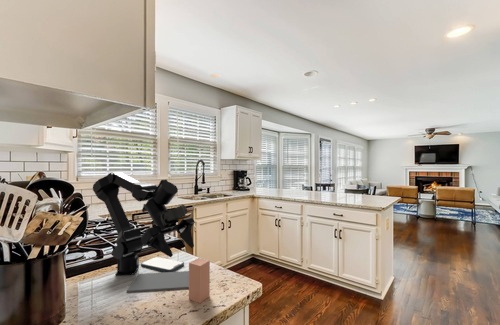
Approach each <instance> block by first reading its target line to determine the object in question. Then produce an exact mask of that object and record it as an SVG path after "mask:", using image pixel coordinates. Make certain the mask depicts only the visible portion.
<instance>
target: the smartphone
mask: <svg viewBox="0 0 500 325" xmlns="http://www.w3.org/2000/svg"><path fill="white" fill-rule="evenodd" d="M184 266H185V262H184V261H180V260H175V259H169V258H164V257H160V256H155V257H152V258H150V259H148V260H145V261H143V262H141V263H140V267H141V268H145V267H146V269H149V268H150V270H154V271H158V272H160V273H162V272H177V271H178V270H179V269H181V268H183V267H184Z"/></svg>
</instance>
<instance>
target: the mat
mask: <svg viewBox="0 0 500 325" xmlns="http://www.w3.org/2000/svg"><path fill="white" fill-rule="evenodd" d="M187 289H188V290H189V270H186V271H185V270H184V271H183V270H182V271H174V272H150V273H149V272H148V273H146V272H145V273H138V274H136V276H135V278H134V279H133V281H132V282H131V283H130V285H129V286H128V287H127V289H126V293H139V292H140V293H141V292H142V293H143V292H154V291H155V292H158V291H169V290H170V291H171V290H187Z"/></svg>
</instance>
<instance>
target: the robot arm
mask: <svg viewBox="0 0 500 325" xmlns="http://www.w3.org/2000/svg"><path fill="white" fill-rule="evenodd" d="M120 188H122V189H123V190H126V191H128V192H130V194H131V197H132V198H134V199H135V201H137V202H145V201H146V203H143V207H142V209H141V211H142V213H145V212H147V213H148V215H149V216H150V218H151V219H152V221H151V222H150V224H151V225H152V227H149V228H147V229H146V231H145V232H144V233H143V234H141V233H142V232H141V231H140V229H139V228H138V227H136V228H134V227H132V225H131V223H130V221H129V219H128V217H127V214H126V213H125V210H124V208H123V205H122V204H121V201H120V198H119V197H118V196H119V192H120ZM178 190H179V189H178V186H177V185H175V183H172V182H170V181H168V179H161V180H160V182H159V183H158V185H156V184H155V183H152V182H142V181H139V180H137V179H135V178H133V177H131V176H129V175H127V174H126V173H124V172H122V171H113V172H110V173H108V174H107V175H105V176H104V177H101V178H99V179H98V180H97V181H95V182H94V184H93V186H92V191H93V193H94V194H95V196H96V198H97V199H99V200H101V201H102V202H104V204H105V206H106V209H107V212H108V213H109V216H110V218H111V221H112V223H113V226H114V227H115V230H116V232H117V237H116V242H115V244H116V246H115V248H114V249H113V250H112V257H113V258H114V259H116V261H117V262H116V268H117V271H116V272H115V276H127V275H128V276H129V275H135V274H136V272H137V271H138V269H139V268H140V257H139V256H138V254H140V253H142V251H143V247H146V246H147V247H148V248H150V247H151V248H153V249H155V250H157V251H159V252H160V253H163V254H164V255H166V256H168V257H169V258H172V257H173V256H174V254H173V252H172V249H171V248H170V246H169V244H168V242H167V241H166V238H165V235H168V234H170V233H174V232H177V234H179V236H178V237H180V239H182V241H184V243H186V245H187V246H188V247H190V248H191V249H193V248H194V247H195V244H194V240H193V235H192V228H193V227H194V224H195V223H196V221H195V220H194V218H193V217H187V218H186V216H187V214H188V209H187V207H186V206H185V205H184V204H181V205H179V206H177V207H175V208H172V209H168V208H167V207H166V205H168V204H170V203H171V201H172V200H173V198H175V197H176V195H177V193H178V192H179V191H178ZM184 217H185V218H184ZM181 218H183V219H181ZM180 219H181V220H180ZM179 221H180V222H179ZM153 225H155V226H153Z"/></svg>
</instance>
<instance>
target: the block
mask: <svg viewBox="0 0 500 325" xmlns="http://www.w3.org/2000/svg"><path fill="white" fill-rule="evenodd" d="M210 265H211V262H210V260H208V259H204V258H200V257H199V258H196V259H194V260H191V261H190V262H189V263H188V271H189V289H188V300H190V301H193V302H196V303H198V304H201V303H202V302H204V301H205V300H207V299H208V298H209V297H210V291H211V290H210V289H211V288H210V282H211V281H210V280H211V279H210V278H211V277H210V276H211V275H210V274H211V270H210V269H211V266H210Z"/></svg>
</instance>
